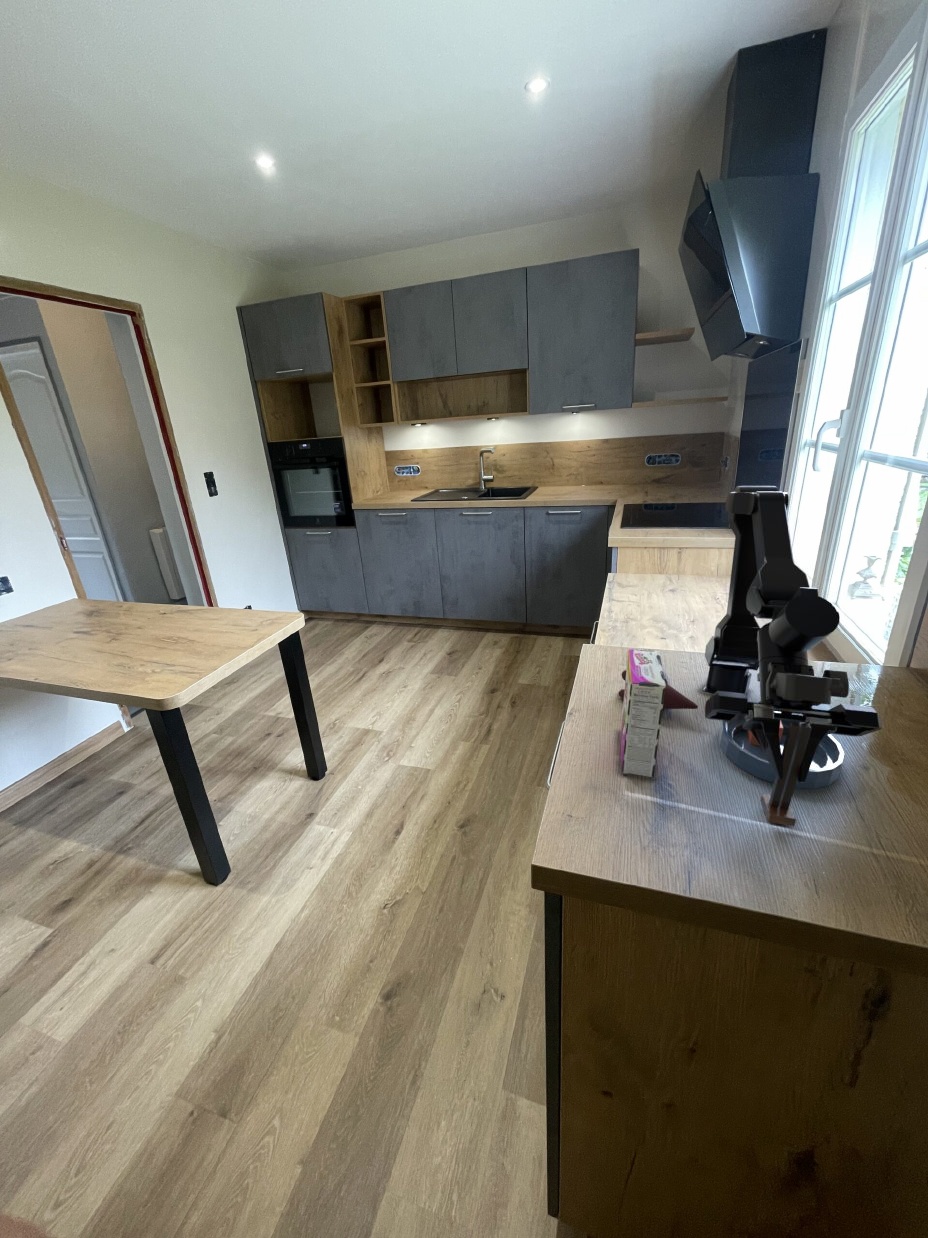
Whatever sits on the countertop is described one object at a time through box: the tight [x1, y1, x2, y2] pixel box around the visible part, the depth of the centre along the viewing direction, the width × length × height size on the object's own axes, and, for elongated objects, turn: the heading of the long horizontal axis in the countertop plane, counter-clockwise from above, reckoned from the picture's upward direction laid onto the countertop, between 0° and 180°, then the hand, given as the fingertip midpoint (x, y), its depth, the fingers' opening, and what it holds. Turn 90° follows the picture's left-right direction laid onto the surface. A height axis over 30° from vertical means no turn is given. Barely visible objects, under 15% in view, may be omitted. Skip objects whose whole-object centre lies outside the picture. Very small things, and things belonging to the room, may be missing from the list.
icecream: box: [617, 669, 699, 710], centre depth 89 cm, size 7×7×15 cm
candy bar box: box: [620, 648, 666, 778], centre depth 75 cm, size 11×5×16 cm, turn 164°
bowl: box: [718, 711, 846, 790], centre depth 77 cm, size 16×16×4 cm
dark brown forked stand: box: [759, 722, 812, 827], centre depth 62 cm, size 4×3×14 cm
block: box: [747, 720, 784, 746], centre depth 80 cm, size 4×4×4 cm
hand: (790, 780), depth 61 cm, fingers closed on dark brown forked stand, 2 cm apart
